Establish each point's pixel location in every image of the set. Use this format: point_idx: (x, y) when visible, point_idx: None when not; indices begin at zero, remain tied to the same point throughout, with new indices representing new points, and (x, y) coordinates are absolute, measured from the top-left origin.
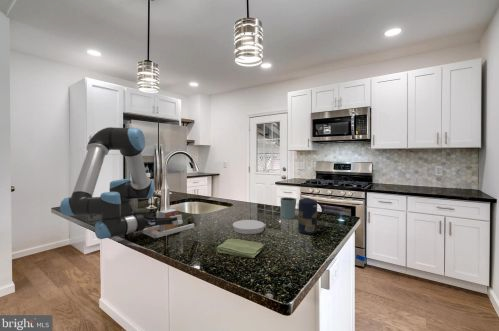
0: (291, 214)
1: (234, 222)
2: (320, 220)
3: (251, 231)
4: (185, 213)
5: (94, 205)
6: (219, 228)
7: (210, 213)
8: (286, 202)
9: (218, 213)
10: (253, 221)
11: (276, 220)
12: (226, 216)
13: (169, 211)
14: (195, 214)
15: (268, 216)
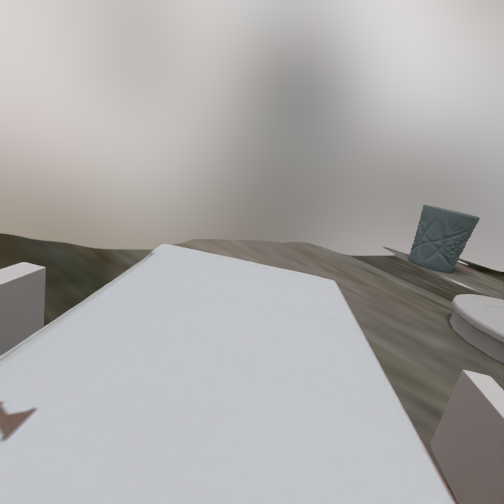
0: (457, 259)
1: (482, 322)
2: (500, 275)
3: None
4: (56, 246)
5: None
6: (459, 376)
7: (192, 247)
8: (467, 222)
9: (224, 248)
10: (498, 304)
11: (447, 281)
12: (285, 265)
13: (360, 370)
14: (128, 253)
15: (389, 262)
